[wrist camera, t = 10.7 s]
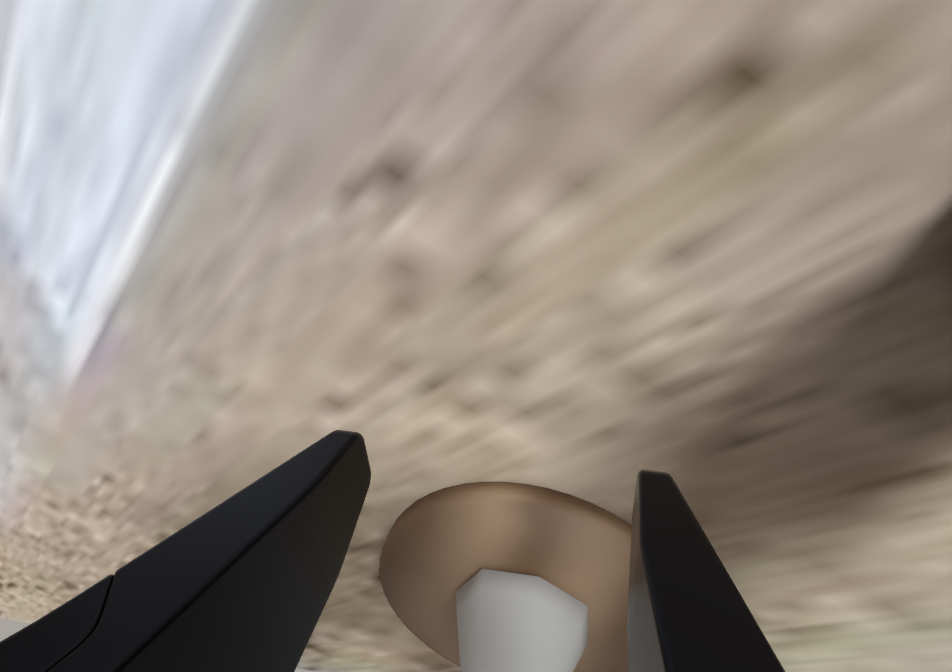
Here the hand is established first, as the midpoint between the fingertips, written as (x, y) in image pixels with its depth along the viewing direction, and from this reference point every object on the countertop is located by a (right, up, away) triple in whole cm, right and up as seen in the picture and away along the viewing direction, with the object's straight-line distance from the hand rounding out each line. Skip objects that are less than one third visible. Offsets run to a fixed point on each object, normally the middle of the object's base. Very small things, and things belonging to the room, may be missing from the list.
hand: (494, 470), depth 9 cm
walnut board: (+3, -12, +23) cm, 26 cm away
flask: (+2, -12, +22) cm, 25 cm away
